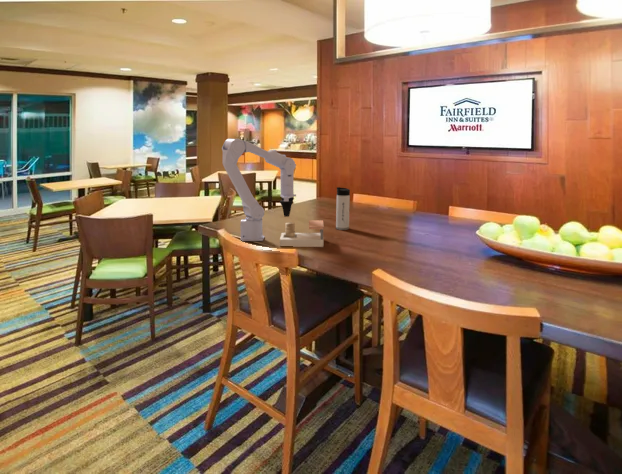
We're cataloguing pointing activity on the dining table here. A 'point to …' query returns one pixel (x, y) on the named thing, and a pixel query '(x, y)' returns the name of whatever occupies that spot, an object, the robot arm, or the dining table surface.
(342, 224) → the travel mug
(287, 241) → the socket block
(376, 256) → the dining table surface
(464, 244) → the dining table surface
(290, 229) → the peg
